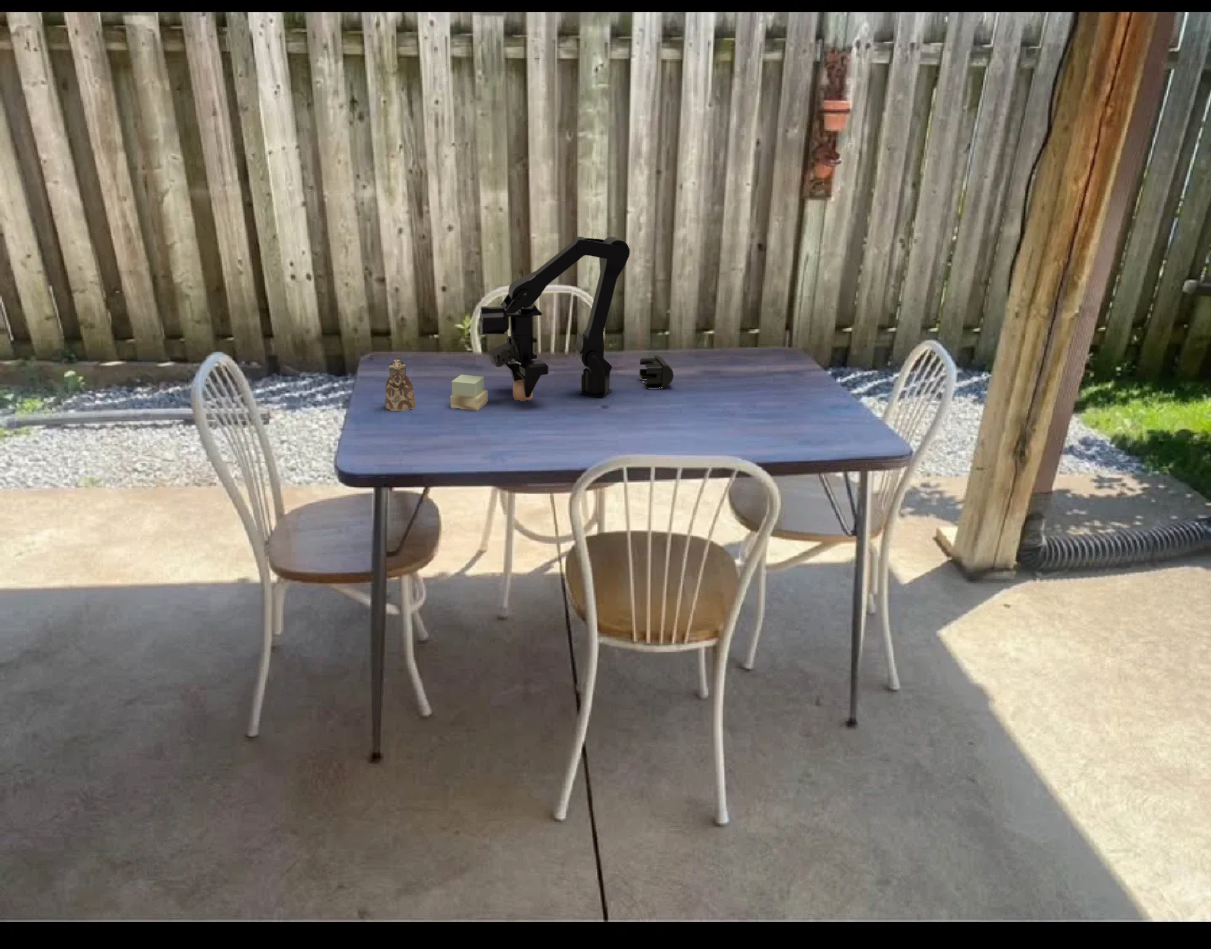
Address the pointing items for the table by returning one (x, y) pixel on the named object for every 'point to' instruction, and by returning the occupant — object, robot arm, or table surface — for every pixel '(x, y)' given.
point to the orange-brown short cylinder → (520, 391)
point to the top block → (467, 386)
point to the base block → (469, 401)
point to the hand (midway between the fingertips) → (523, 393)
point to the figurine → (399, 388)
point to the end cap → (656, 372)
